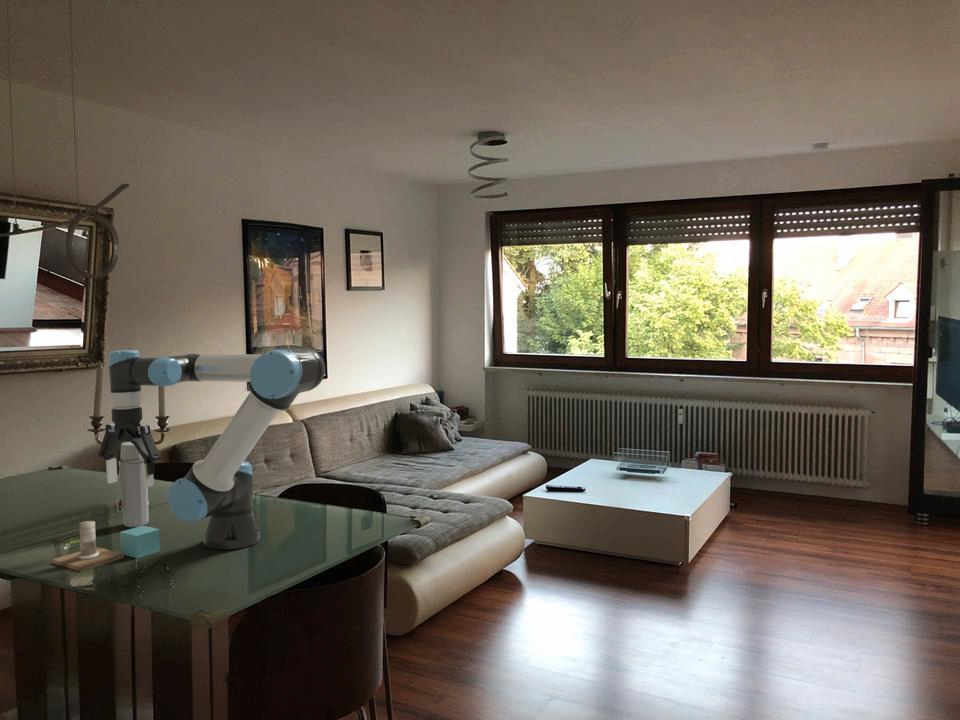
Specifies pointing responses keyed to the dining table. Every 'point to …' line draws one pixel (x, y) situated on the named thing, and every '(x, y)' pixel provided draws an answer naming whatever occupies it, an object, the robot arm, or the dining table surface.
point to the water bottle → (132, 487)
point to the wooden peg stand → (87, 551)
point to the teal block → (140, 541)
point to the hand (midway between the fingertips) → (130, 484)
